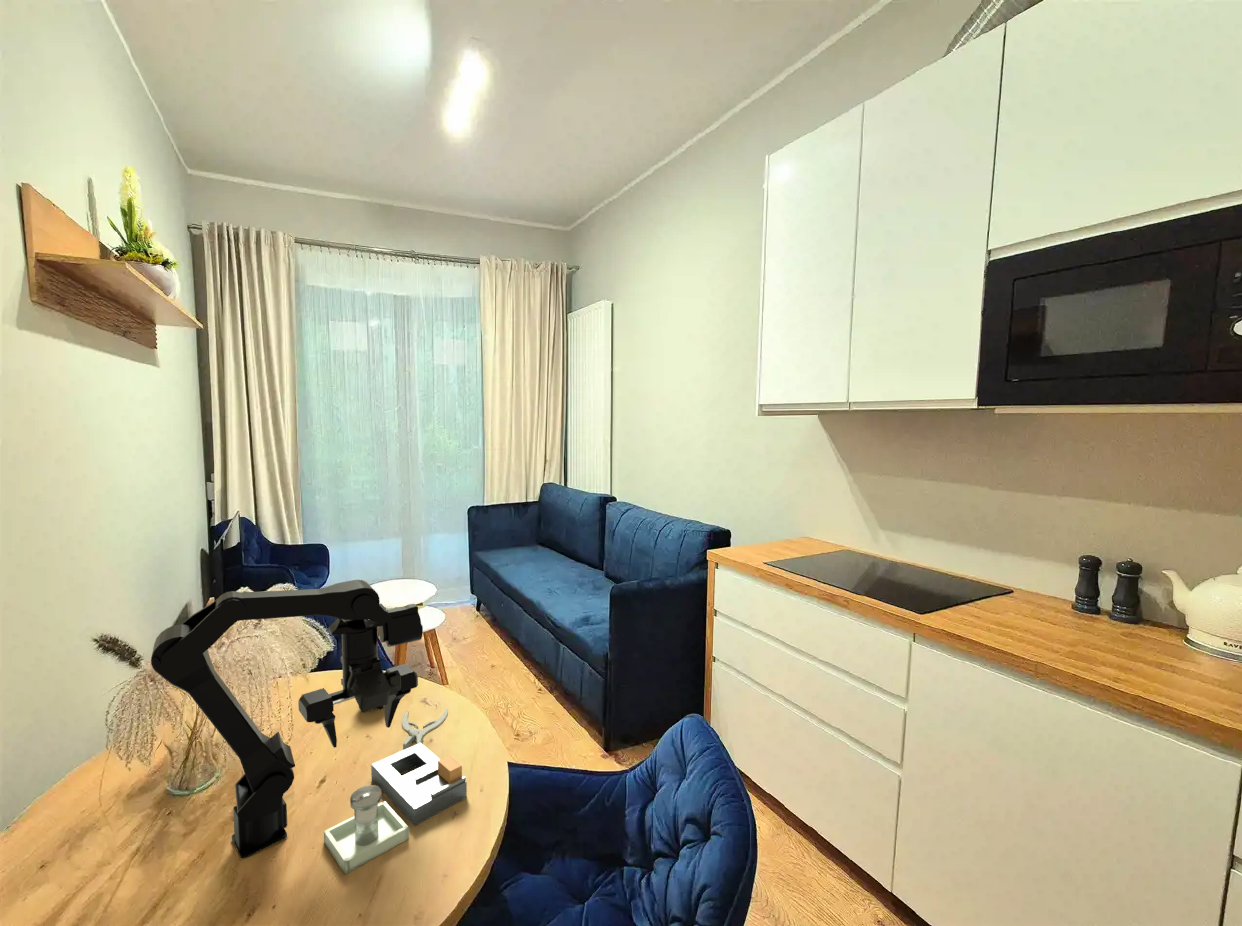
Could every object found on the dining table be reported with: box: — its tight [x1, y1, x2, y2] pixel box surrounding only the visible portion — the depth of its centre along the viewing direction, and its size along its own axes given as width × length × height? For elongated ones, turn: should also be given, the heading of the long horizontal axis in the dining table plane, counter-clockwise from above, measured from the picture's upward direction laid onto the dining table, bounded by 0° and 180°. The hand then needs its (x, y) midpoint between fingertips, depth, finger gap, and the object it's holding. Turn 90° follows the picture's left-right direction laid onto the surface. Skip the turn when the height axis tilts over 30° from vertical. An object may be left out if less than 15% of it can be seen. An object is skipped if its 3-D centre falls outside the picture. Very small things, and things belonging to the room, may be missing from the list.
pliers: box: [401, 708, 449, 750], centre depth 123 cm, size 10×2×15 cm
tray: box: [323, 800, 410, 875], centre depth 90 cm, size 10×9×2 cm
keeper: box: [438, 754, 463, 783], centre depth 102 cm, size 2×4×2 cm, turn 47°
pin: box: [349, 784, 382, 846], centre depth 90 cm, size 5×5×8 cm
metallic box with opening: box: [370, 742, 468, 826], centre depth 103 cm, size 10×18×4 cm, turn 47°
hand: (362, 736), depth 99 cm, fingers open, 9 cm apart
